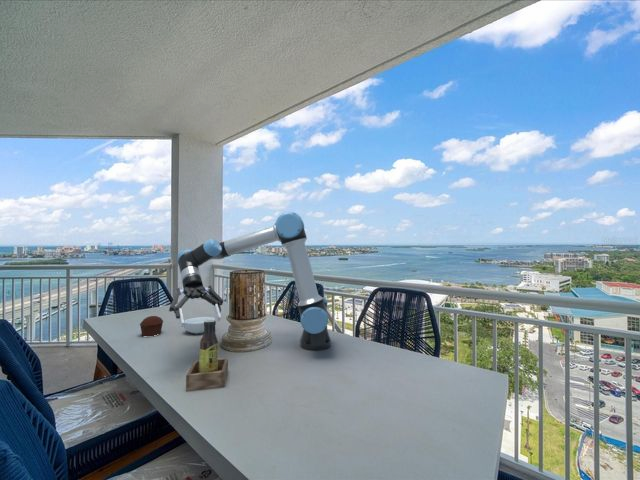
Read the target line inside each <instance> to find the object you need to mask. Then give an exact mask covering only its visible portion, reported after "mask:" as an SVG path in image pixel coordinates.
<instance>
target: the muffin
mask: <svg viewBox="0 0 640 480" xmlns="http://www.w3.org/2000/svg"><path fill="white" fill-rule="evenodd" d="M163 323H164V320H163V319H162V317H159V316H157V315H150V316H147V317H145V318H144V319H143V320H142V321H141V322H140V324H139V326H140V331H141V336H142V335H143V336H153V337H155V336H154V335H157V334H160V333H162V329H163V328H162V327H163ZM160 335H161V334H160ZM143 336H142V337H143ZM157 336H158V335H157Z"/></svg>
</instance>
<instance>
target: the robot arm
mask: <svg viewBox="0 0 640 480" xmlns="http://www.w3.org/2000/svg"><path fill="white" fill-rule="evenodd" d="M307 239H308V238H307V234H306V231H305V224H304V220H303V219H302V217H301V216H300V215H299V214H298V213H296V212H294V211H285V212H282V213H280V215H279V216H278V217H277V219H276V220H275V223H274V224H273V225H272V226H269V227H265V228H263V229H260V230H257V231H253V232H250V233H247V234H244V235H241V236H238V237H234V238H230V239H228V240H224V241H220V242H219V241H218V240H216V239H215V238H210V239H209V240H207V241H205V242H203V243H202V244H201V245H199V246H197V247H196V248H194V249H184V250H181V251H180V252H179V253H178V254H177V264H178V267H179V272H180V278H181V283H182V287H183V288H182V289H181V288H180V287H177V288H176V290H175V295H174V298H173V300H172V302H171V304H170V306H169V309H168V311H169V312H173V313H174V315H175V318H176V319H178V320H179V326H180V328H184V326H183V325H184V321H185V320H184V315H183V311H182V310H183V309H182V307H183V306H184V305H185V303H187V302H188V301H189V299H191V300H194V299H201V300H205V301H206V302H208V303H209V304H211V305H212V306H213V309H214V310H213V311H214V314H215V317H216V322H220V321H221V318H222V316H221V312H222V308H221V306H222V305H223V304H224V301H225V300H224V299H223V298H222V297H221V295H219V294H218V293H217V292H216V291H215V290H214V289H213V287H212V285H208V286H207V287H205V286H204V284H203V281H202V275H201V272H200V268H199V267H201V266H202V265H204V264H205V263H207V262H208V261H211V260H222V259H224V258H226V257H230V256H233V255H236V254H238V253H242V252H245V251H248V250H252V249H255V248H258V247H262V246H264V245H268V244H271V243H274V242H280V244H281V246H283V247H284V248H285V249H286V252H287V253H286V254H287V257H288V260H289V261H288V262H289V263H290V268H291V272H292V275H293V279H294V283H295V286H296V290H297V294H298V298H299V302H298V303H297V308H298V310H299V311H298V312H299V315H300V316H299V317H300V325H301V327H302V328H303V330H302V332H301V333H302V334H301V337H300V339H299V347H301V348H302V349H304V350H309V351H321V350H325V349H326V350H327V349H329V348H330V347H331V346H332V340H331V337H330V334H329V331H328V324H329V316H328V300H327V298H326V297H322V296H321V295H320V294H319V292H318V288H317V285H316V280H315V276H314V273H313V270H312V265H311V261H310V259H309V255H308V250H307V247H306V241H307ZM182 294H184V296H183V298H182V299H181V300H180V301H179V303H178V304H177V301H178V300H179V297H180V296H181V295H182Z"/></svg>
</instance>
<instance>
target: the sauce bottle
mask: <svg viewBox="0 0 640 480" xmlns="http://www.w3.org/2000/svg"><path fill="white" fill-rule="evenodd" d="M216 323H217V320H216V319H215V320H206V321H204V333H203V335H202V337H201V339H200V341H199V359H198V361H199V373H207V372H217V371H218V359H219V340H218V337H217V334H216Z"/></svg>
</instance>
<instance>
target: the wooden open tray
mask: <svg viewBox="0 0 640 480" xmlns="http://www.w3.org/2000/svg"><path fill="white" fill-rule="evenodd" d="M228 372H229V358H228V357H224V358H218V371H217V372H207V373H199V360H194V361H193V363H192V365H191V366H190V368H189V369H188V372H187V373H186V376H185V381H186V382H185V391H186V392H189V391H190V392H191V391H200V390H208V389H210V390H211V389H217V388H225V385H226V381H227V377H228Z"/></svg>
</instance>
